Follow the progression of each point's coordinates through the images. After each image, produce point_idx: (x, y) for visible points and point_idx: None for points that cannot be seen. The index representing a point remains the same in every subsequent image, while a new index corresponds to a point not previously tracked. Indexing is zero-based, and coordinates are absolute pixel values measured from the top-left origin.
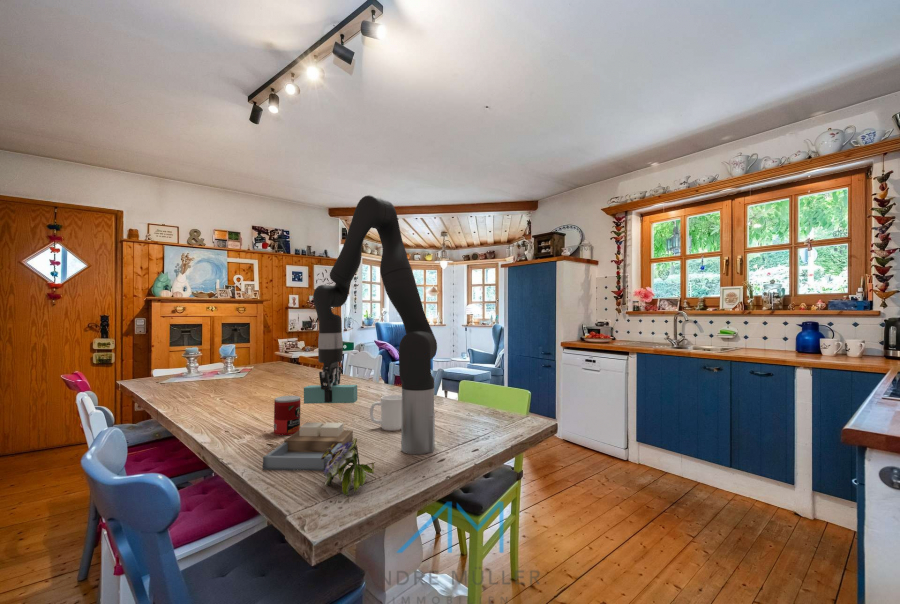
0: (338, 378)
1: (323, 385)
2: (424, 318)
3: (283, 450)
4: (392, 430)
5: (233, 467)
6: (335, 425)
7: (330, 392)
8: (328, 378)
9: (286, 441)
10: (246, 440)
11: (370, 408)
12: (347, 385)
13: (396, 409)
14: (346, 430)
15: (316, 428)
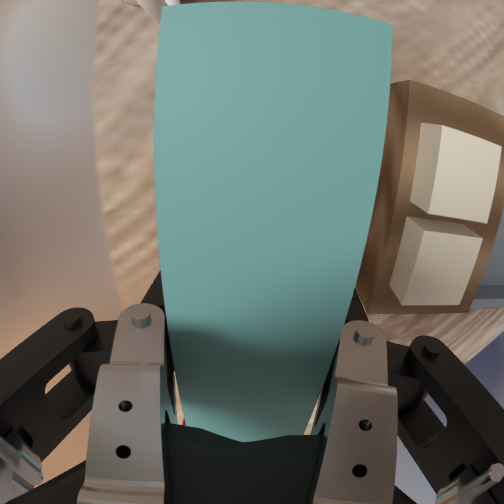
0: (119, 378)
1: (403, 413)
2: None
3: (480, 291)
4: None
5: (482, 347)
6: (475, 161)
7: (348, 316)
8: (497, 432)
9: (469, 304)
10: (315, 407)
11: (155, 10)
12: (217, 156)
13: None
14: (410, 109)
15: (479, 238)
